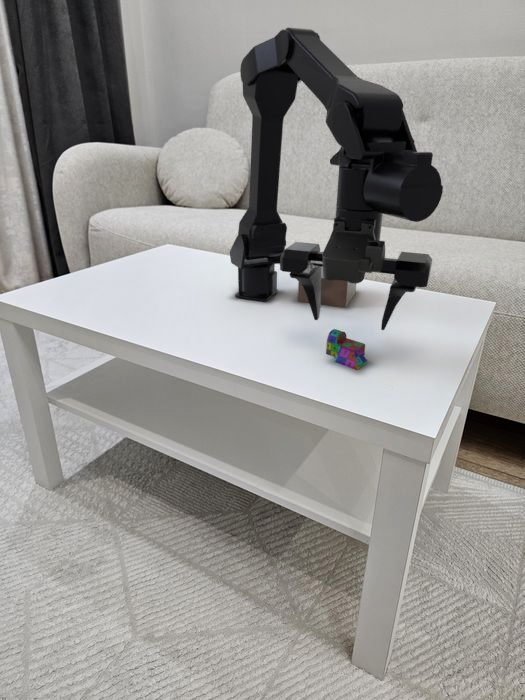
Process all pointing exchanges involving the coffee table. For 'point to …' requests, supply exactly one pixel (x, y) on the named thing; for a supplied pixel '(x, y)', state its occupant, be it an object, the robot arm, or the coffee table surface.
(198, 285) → the coffee table surface
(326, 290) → the walnut block
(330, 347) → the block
